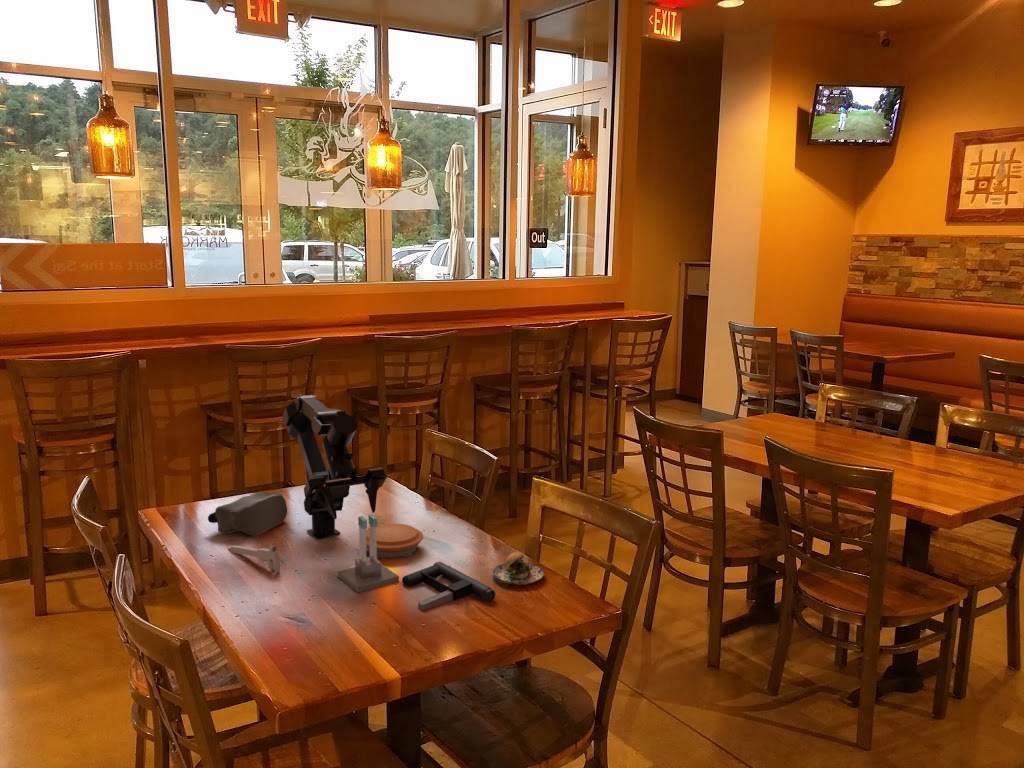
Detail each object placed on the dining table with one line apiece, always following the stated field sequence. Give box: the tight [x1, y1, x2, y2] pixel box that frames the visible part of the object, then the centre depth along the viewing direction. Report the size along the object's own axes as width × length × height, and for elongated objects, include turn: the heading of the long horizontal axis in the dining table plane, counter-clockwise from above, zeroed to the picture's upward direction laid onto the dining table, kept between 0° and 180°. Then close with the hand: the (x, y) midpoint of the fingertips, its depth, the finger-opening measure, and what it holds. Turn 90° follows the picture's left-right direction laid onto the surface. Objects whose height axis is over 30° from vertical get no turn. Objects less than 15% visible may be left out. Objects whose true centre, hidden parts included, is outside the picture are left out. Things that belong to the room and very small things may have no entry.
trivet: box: [336, 564, 400, 593], centre depth 182 cm, size 10×10×1 cm
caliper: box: [227, 545, 281, 575], centre depth 190 cm, size 21×1×6 cm, turn 49°
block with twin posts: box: [354, 513, 382, 579], centre depth 181 cm, size 4×4×13 cm
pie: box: [366, 523, 424, 559], centre depth 199 cm, size 16×16×5 cm
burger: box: [491, 546, 546, 589], centre depth 184 cm, size 12×12×8 cm
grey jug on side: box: [207, 491, 288, 537], centre depth 212 cm, size 20×12×8 cm, turn 154°
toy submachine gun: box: [401, 561, 496, 611], centre depth 176 cm, size 3×20×16 cm
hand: (355, 515), depth 187 cm, fingers open, 9 cm apart
